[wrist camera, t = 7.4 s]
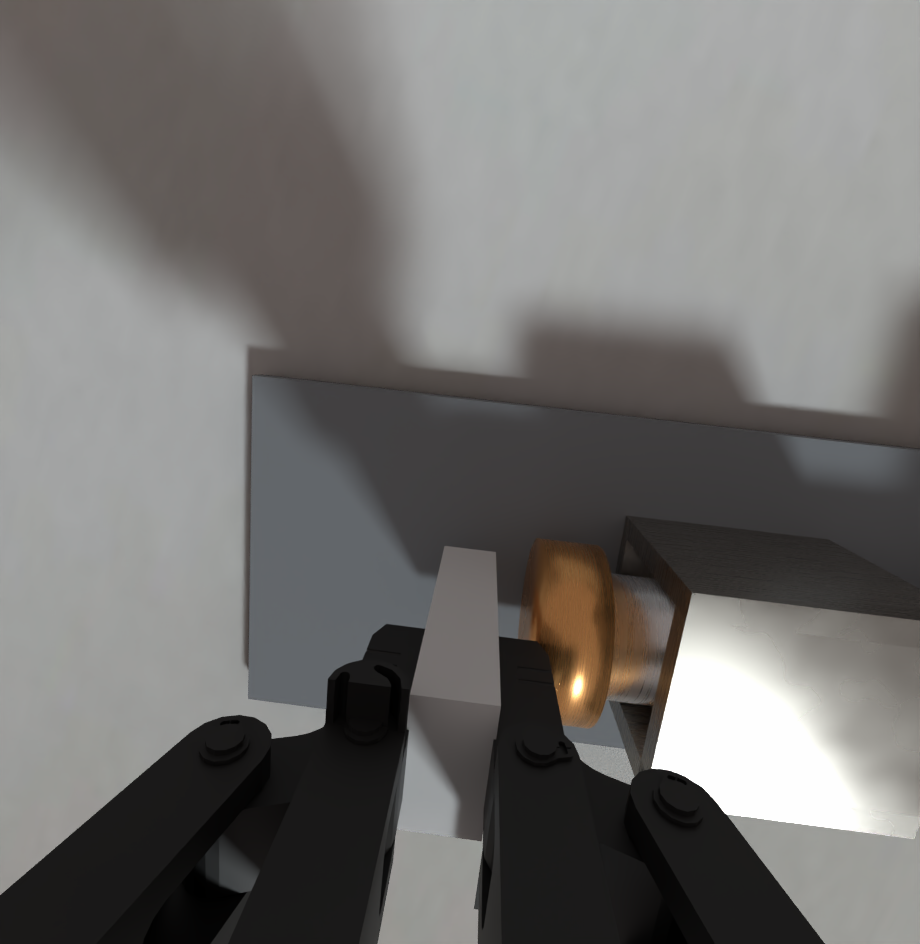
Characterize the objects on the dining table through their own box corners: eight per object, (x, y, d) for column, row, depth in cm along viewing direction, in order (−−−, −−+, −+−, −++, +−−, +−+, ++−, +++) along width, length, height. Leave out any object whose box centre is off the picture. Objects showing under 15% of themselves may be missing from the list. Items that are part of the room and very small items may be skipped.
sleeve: (597, 667, 16) (643, 802, 11) (626, 515, 15) (692, 592, 10) (784, 691, 16) (914, 838, 11) (828, 539, 15) (995, 630, 10)
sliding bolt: (513, 651, 16) (522, 764, 12) (533, 515, 15) (552, 583, 11) (1039, 719, 16) (1257, 863, 11) (1098, 583, 15) (1363, 683, 10)
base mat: (255, 687, 18) (248, 698, 17) (261, 374, 16) (252, 375, 15) (1036, 790, 17) (1055, 806, 17) (1175, 477, 15) (1203, 482, 14)
